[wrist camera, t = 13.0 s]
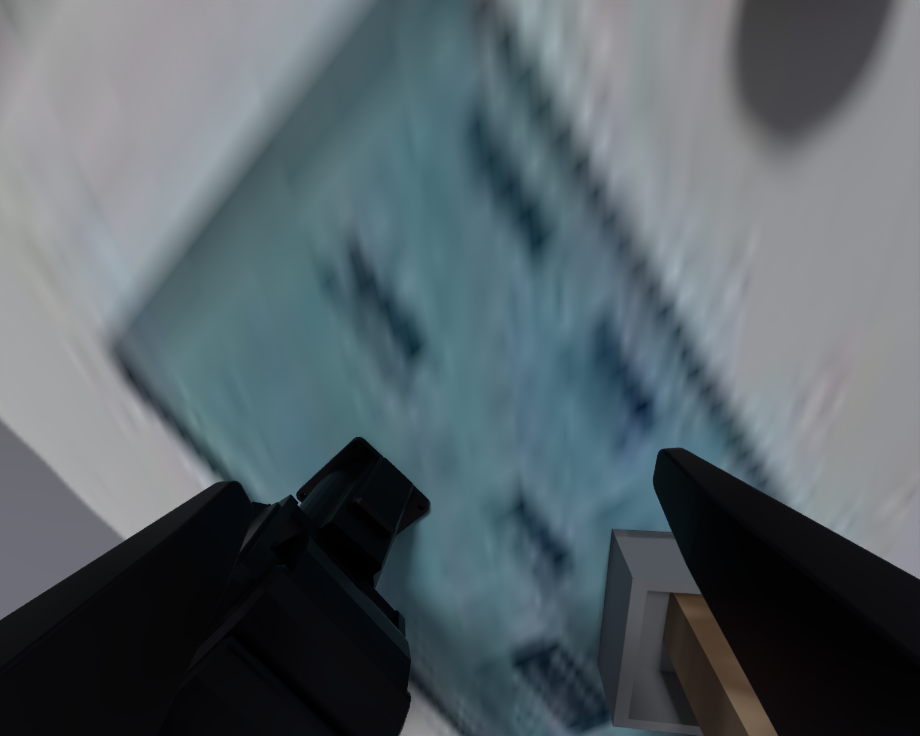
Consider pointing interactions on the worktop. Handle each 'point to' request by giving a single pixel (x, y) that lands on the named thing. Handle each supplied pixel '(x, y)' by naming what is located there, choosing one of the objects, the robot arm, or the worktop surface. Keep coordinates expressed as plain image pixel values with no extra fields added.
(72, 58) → the worktop surface
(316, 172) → the worktop surface
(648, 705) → the box
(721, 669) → the handle block
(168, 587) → the robot arm
